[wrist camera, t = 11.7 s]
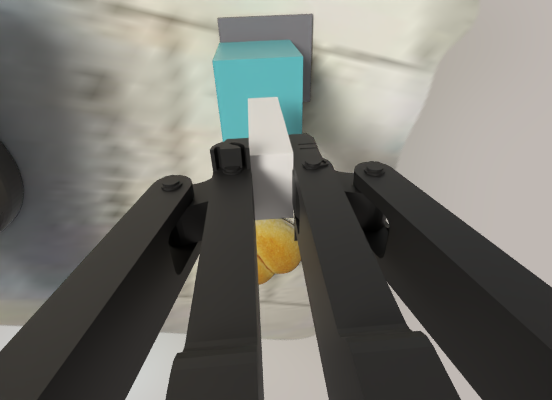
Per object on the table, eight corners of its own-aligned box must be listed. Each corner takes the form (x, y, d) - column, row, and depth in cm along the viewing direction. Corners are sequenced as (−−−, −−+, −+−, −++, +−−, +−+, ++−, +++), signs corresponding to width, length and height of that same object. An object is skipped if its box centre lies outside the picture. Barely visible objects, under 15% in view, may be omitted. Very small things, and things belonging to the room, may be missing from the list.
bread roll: (311, 250, 38) (318, 275, 35) (243, 278, 40) (243, 305, 36) (281, 197, 34) (285, 221, 30) (206, 232, 35) (202, 257, 32)
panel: (227, 105, 28) (227, 106, 28) (217, 17, 24) (217, 18, 24) (309, 100, 28) (309, 101, 28) (311, 13, 25) (312, 14, 24)
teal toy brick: (227, 112, 27) (223, 145, 22) (219, 42, 24) (212, 60, 19) (290, 108, 27) (301, 140, 22) (289, 39, 25) (303, 56, 19)
